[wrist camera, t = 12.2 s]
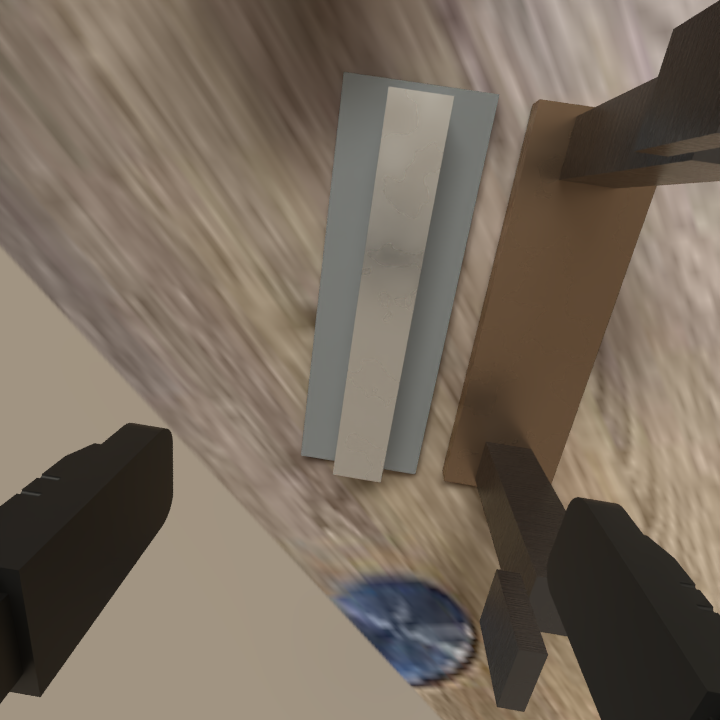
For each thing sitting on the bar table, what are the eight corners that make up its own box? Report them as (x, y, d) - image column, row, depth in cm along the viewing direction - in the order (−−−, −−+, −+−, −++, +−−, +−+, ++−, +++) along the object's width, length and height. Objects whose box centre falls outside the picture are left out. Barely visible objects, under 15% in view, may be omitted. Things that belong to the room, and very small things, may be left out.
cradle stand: (442, 470, 31) (485, 714, 16) (532, 104, 23) (779, -75, 8) (540, 487, 31) (675, 748, 16) (665, 124, 23) (1160, -23, 8)
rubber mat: (303, 447, 31) (301, 455, 30) (345, 77, 23) (343, 71, 22) (414, 466, 31) (415, 474, 30) (494, 99, 23) (499, 94, 22)
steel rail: (338, 448, 30) (332, 474, 27) (389, 101, 23) (388, 86, 20) (381, 456, 30) (380, 482, 27) (446, 109, 22) (454, 96, 20)
